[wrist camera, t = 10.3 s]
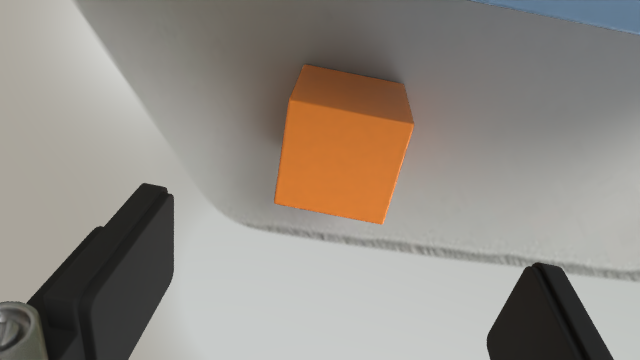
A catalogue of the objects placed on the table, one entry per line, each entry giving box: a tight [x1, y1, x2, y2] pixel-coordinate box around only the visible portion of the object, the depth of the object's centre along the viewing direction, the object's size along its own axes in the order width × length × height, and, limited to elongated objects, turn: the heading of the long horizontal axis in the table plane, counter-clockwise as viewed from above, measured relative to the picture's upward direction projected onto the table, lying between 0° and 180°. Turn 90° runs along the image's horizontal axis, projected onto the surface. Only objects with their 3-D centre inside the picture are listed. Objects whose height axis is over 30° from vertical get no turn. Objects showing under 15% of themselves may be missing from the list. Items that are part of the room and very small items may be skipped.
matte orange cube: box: [274, 64, 414, 224], centre depth 18 cm, size 4×4×4 cm
